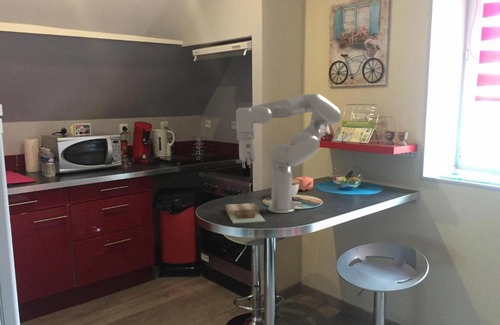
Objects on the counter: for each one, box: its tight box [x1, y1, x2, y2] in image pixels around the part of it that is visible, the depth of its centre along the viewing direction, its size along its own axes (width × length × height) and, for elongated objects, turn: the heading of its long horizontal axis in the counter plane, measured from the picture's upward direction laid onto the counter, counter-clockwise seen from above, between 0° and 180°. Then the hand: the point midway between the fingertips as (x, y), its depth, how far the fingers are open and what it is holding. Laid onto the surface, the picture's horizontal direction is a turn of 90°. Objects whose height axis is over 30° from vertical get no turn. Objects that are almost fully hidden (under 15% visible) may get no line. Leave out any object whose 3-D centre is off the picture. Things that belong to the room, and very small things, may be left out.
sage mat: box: [228, 213, 266, 225], centre depth 188 cm, size 14×12×1 cm
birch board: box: [225, 202, 260, 216], centre depth 199 cm, size 14×11×2 cm
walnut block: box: [235, 210, 255, 219], centre depth 190 cm, size 8×7×2 cm
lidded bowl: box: [292, 178, 299, 197], centre depth 228 cm, size 13×13×11 cm
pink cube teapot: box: [294, 175, 314, 192], centre depth 245 cm, size 8×12×8 cm, turn 34°
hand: (246, 176), depth 191 cm, fingers closed
